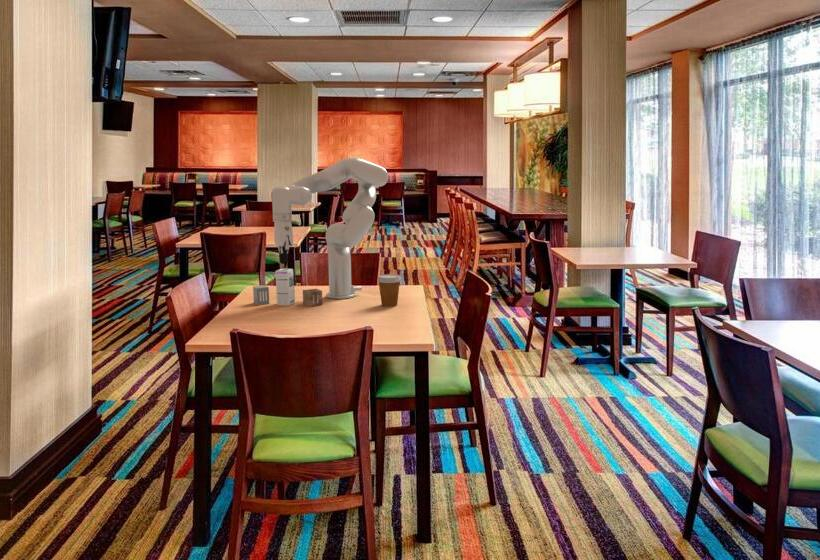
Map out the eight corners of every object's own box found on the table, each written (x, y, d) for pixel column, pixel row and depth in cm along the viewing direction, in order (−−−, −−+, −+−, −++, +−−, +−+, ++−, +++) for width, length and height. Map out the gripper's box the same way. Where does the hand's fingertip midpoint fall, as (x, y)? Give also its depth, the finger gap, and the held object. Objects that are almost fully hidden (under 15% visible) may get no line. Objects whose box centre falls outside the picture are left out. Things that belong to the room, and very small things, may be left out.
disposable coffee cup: (398, 307, 288) (398, 278, 286) (375, 307, 290) (374, 277, 288) (403, 303, 297) (403, 274, 295) (380, 302, 299) (380, 273, 297)
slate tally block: (265, 301, 303) (264, 285, 302) (269, 304, 299) (268, 287, 297) (253, 303, 301) (253, 286, 300) (257, 305, 296) (257, 288, 295)
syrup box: (290, 305, 294) (288, 270, 292) (276, 305, 296) (275, 270, 293) (295, 303, 300) (293, 268, 297) (281, 302, 301) (280, 268, 299)
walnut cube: (316, 302, 300) (316, 288, 299) (322, 305, 295) (322, 291, 294) (303, 304, 297) (302, 290, 296) (309, 307, 292) (308, 292, 291)
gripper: (297, 218, 287) (299, 264, 290) (284, 216, 300) (286, 260, 303) (279, 219, 284) (281, 265, 286) (267, 217, 296) (268, 261, 299)
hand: (283, 262), depth 295 cm, fingers closed
